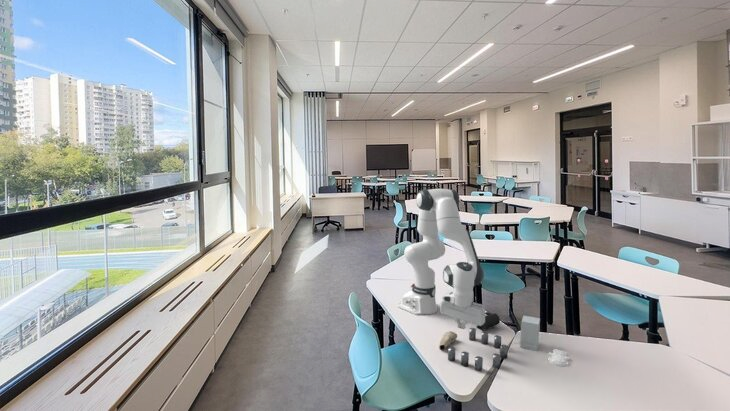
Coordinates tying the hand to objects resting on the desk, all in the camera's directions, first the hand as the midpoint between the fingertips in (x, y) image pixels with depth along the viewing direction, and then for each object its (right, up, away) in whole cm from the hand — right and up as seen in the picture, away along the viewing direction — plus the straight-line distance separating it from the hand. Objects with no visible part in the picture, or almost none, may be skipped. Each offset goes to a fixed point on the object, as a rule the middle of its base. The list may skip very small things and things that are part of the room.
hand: (461, 328), depth 172 cm
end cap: (+18, -7, +21) cm, 29 cm away
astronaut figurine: (+40, -11, -8) cm, 42 cm away
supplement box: (+32, -9, +3) cm, 33 cm away
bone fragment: (-5, -10, +5) cm, 12 cm away
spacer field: (+8, -11, -5) cm, 14 cm away
